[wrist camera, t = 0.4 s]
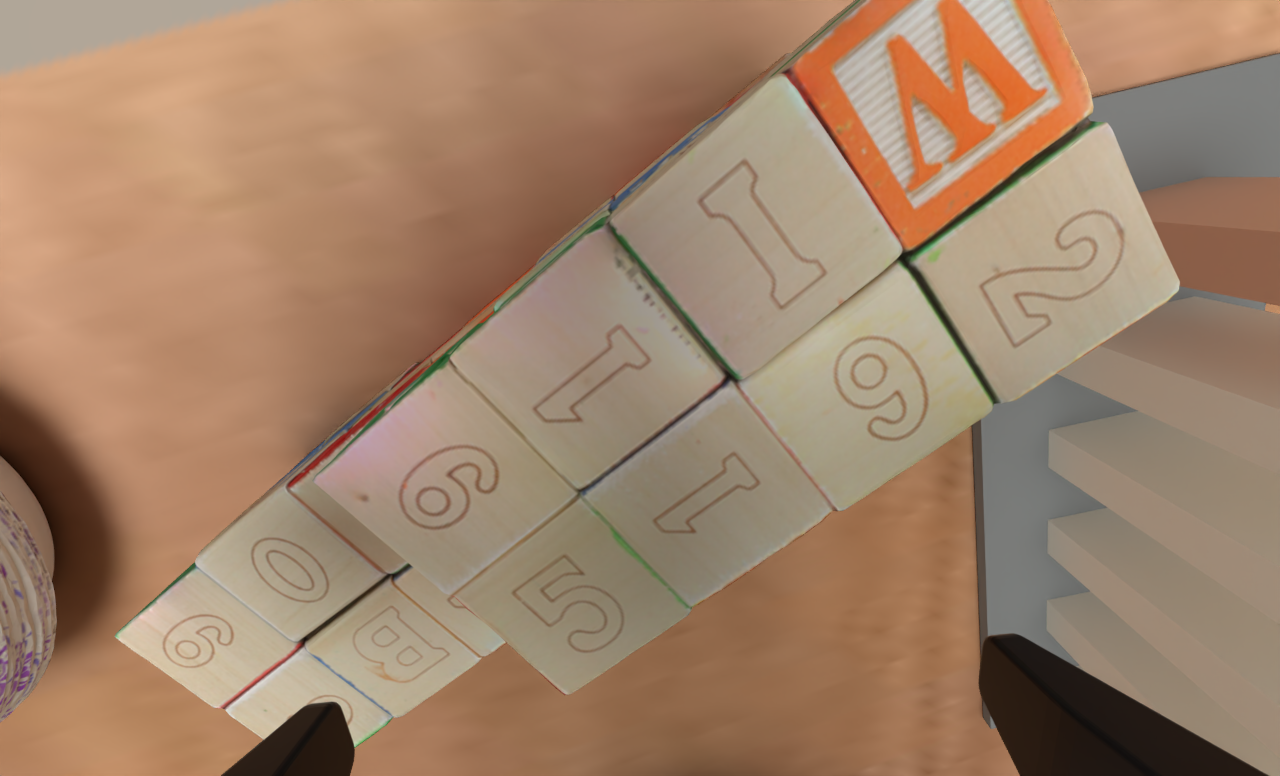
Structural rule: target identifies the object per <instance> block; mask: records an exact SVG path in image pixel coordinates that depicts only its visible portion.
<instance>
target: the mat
mask: <svg viewBox="0 0 1280 776" xmlns="http://www.w3.org/2000/svg"><path fill="white" fill-rule="evenodd" d="M1092 101H1093V106H1094V108H1093V113H1092V114H1091V115H1090V116H1089V117H1088V118H1089V120H1090V121H1095V122H1107V123H1108V124H1109V126H1110V127H1111V128H1112V130H1113V132H1114V135H1115V137H1116V140H1117V142H1118V144H1119V147H1120V149H1121V152H1122V154H1123V157H1124V159H1125V161H1126V164H1127V166H1128V169H1129V171H1130V173H1131V176H1132V178H1133V181H1134V183H1135V185H1136V187H1137V190H1138V192H1139V193H1140V192H1144V191H1148V190H1153V189H1157V188H1161V187H1166V186H1170V185H1174V184H1179V183H1183V182H1187V181H1192V180H1196V179H1200V178H1205V177H1280V53H1277V54H1273V55H1269V56H1265V57H1261V58H1256V59H1252V60H1248V61H1244V62H1240V63H1236V64H1231V65H1227V66H1223V67H1219V68H1215V69H1210V70H1206V71H1202V72H1198V73H1194V74H1189V75H1185V76H1181V77H1177V78H1173V79H1169V80H1164V81H1160V82H1156V83H1152V84H1148V85H1143V86H1139V87H1135V88H1131V89H1127V90H1122V91H1118V92H1114V93H1110V94H1106V95H1102V96H1097V97H1093V98H1092ZM1194 296H1196V297H1201V298H1205V299H1210V300H1215V301H1220V302H1225V303H1229V304H1234V305H1239V306H1244V307H1249V308H1253V309H1258V310H1263V311H1265V305H1266V303H1263V302H1258V301H1252V300H1247V299H1242V298H1237V297H1232V296H1227V295H1222V294H1217V293H1212V292H1207V291H1201V290H1196V289H1191V288H1186V287H1181V286H1179V291H1178V292H1177V293H1176V294H1175V295H1174V296H1173V297H1172V298H1171V299H1170V300H1168V301H1167V302H1172V301H1176V300H1181V299H1185V298H1190V297H1194ZM1167 302H1166V303H1167ZM1136 411H1138V410H1135V409H1133V408H1131V407H1129V406H1127V405H1124V404H1122V403H1120V402H1118V401H1115V400H1113V399H1111V398H1109V397H1107V396H1104V395H1102V394H1100V393H1098V392H1096V391H1093V390H1091V389H1089V388H1087V387H1085V386H1082V385H1080V384H1078V383H1076V382H1074V381H1071V380H1069V379H1067V378H1065V377H1062V376H1060V375H1058V374H1056V375H1054V376H1052V377H1051V378H1049V379H1048V380H1046V381H1045V382H1043V383H1042V384H1040V385H1039V386H1037V387H1036V388H1034V389H1033V390H1031V391H1029V392H1028V393H1026V394H1025V395H1023V396H1022V397H1020V398H1018V399H1017V400H1014V401H1011V402H1006V403H999V404H994V406H993V409H992V411H991V412H990V413H989V414H988V415H987V416H985V417H984V418H982V419H980V420H979V421H977V422H976V423H974V424H973V425H972V428H973V455H974V482H975V509H976V536H977V563H978V590H979V617H980V644H981V654H982V645H983V641H984V640H985V638H986V637H988V636H990V635H999V634H1009V633H1014V634H1019V635H1021V636H1023V637H1025V638H1027V639H1028V640H1030V641H1032V642H1034V643H1036V644H1037V645H1039V646H1041V647H1043V648H1044V649H1046V650H1048V651H1050V652H1051V653H1053V654H1055V655H1057V656H1059V657H1060V658H1062V659H1064V660H1066V661H1067V662H1069V663H1071V664H1073V665H1074V666H1080V665H1079V664H1078V663H1077V662H1076V661H1075V660H1074V659H1073V658H1072V657H1071V656H1070V655H1069V653H1068V652H1067V651H1066V650H1065V649H1064V648H1063V647H1062V646H1061V645H1060V644H1059V643H1058V642H1057V641H1056V640H1055V639H1054V637H1053V636H1052V635H1051V634H1050V633H1049V632H1048V631H1047V600H1051V599H1056V598H1061V597H1066V596H1071V595H1076V594H1081V593H1086V592H1091V591H1090V590H1088V589H1087V588H1086V587H1085V586H1084V585H1083V584H1082V583H1081V582H1079V581H1078V580H1077V579H1076V578H1075V577H1074V576H1073V575H1072V574H1070V573H1069V572H1068V571H1067V570H1066V569H1065V568H1064V567H1062V566H1061V565H1060V564H1059V563H1058V562H1057V561H1056V560H1055V559H1053V558H1052V557H1051V556H1050V555H1049V554H1048V553H1047V546H1048V520H1050V519H1055V518H1060V517H1065V516H1070V515H1075V514H1079V513H1084V512H1089V511H1094V510H1099V509H1104V508H1107V507H1106V506H1104V505H1103V504H1102V503H1100V502H1099V501H1097V500H1096V499H1094V498H1093V497H1091V496H1090V495H1088V494H1087V493H1085V492H1084V491H1082V490H1081V489H1080V488H1078V487H1077V486H1075V485H1074V484H1072V483H1071V482H1069V481H1068V480H1066V479H1065V478H1063V477H1062V476H1060V475H1059V474H1057V473H1056V472H1055V471H1053V470H1052V469H1050V468H1049V467H1048V458H1049V430H1051V429H1056V428H1061V427H1065V426H1070V425H1075V424H1079V423H1084V422H1089V421H1094V420H1098V419H1103V418H1108V417H1112V416H1117V415H1122V414H1126V413H1131V412H1136ZM983 718H984V720H985V721H986V723H987V724H988V726H989V727H990V729H993V728H996V726H995V724H994V722H993V720H992V718H991V716H990V714H989V712H988V710H987V708H986V706H985V704H984V701H983Z"/></svg>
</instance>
